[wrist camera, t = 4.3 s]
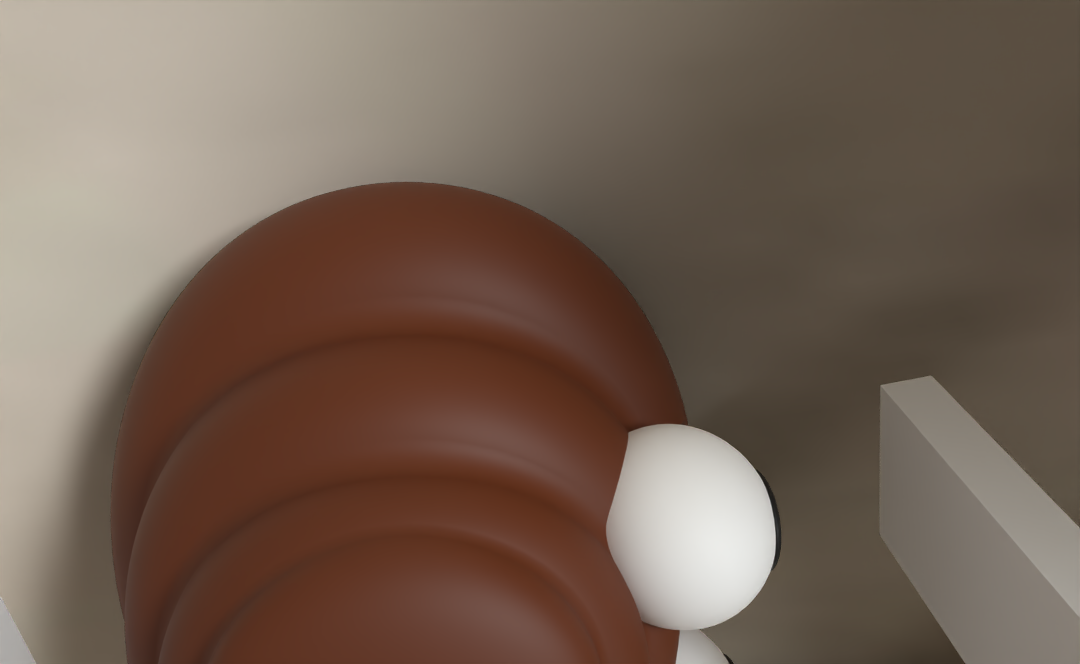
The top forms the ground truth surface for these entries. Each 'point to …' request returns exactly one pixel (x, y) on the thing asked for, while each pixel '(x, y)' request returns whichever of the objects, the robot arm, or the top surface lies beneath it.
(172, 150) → the top surface
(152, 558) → the poop emoji
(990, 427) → the top surface
